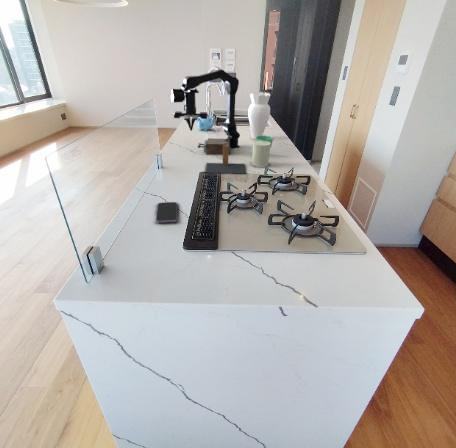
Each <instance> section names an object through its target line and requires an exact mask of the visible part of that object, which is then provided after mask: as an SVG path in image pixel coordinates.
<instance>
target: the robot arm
mask: <svg viewBox="0 0 456 448" xmlns="http://www.w3.org/2000/svg"><path fill="white" fill-rule="evenodd" d="M218 79H219V80H220V81H222V82H223V83H224V84H225V90H226V93H227V101H226V120H225V121H223V122H222V123H223V125H222V126H223V127H222V129H223V131H224V133H225V134H226V136H227V138H226V139H230V149H235V148H240V145H239V139H240V137H241V134H240V132H239V131H237V130H238V129H237V122H236V120H235V118H236V117H235V115H236V95H237V92H238V90H239V86H240V79H238V78H237V77H235V76H233V75H231V74H229V73H228V72H226V71H225V70H224V69H220V68H219V69H217V70H213V71H210V72H207V73H204V74H203V73H202V74H200V75H199V74H198V75H187V76H185V77H183V81H182V84H181V85H180V88H171V91H170V92H171V93H170V101H171V103H172V104H173V103H183V102H184V104H183V111H184V112H182V111H181V110H179V111H174V113H173V119H180V118H182V117H183V120H184V121H186V123H187V125H188V128H189V130H190V131H191V132H192V131H193V129H194V124H195V122H196V121H197V119H198V118H200V119H207V117H208V112H207V111H200V112H199V113H197V107H196V106H197V105H196V94H199V93H200V91H199V90H198V89H197V87H199V86H201V84H204V83H208V82H211V81H215V80H218Z"/></svg>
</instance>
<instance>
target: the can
mask: <svg viewBox="0 0 456 448" xmlns="http://www.w3.org/2000/svg"><path fill="white" fill-rule="evenodd" d="M270 145H271V143H270V142H267V141H256V140H253V142H252V155H251V163H250V164H251V165H252V166H253V167H257V168H266V167H268V166H269V165H270V163H269V161H270V152H271V148H270ZM271 146H272V145H271Z"/></svg>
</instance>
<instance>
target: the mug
mask: <svg viewBox="0 0 456 448" xmlns="http://www.w3.org/2000/svg"><path fill="white" fill-rule="evenodd" d="M255 141H267V142H270V143H271V145H270V149H271V148H272V145H273V141H274V138H273V137H272V136H268V135H265V134H263V136H258V137H256V140H255Z"/></svg>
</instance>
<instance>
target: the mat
mask: <svg viewBox="0 0 456 448" xmlns="http://www.w3.org/2000/svg"><path fill="white" fill-rule="evenodd" d="M205 174H223V175H224V174H225V175H227V174H228V175H229V174H231V175H237V174H238V175H247V174H246V166H245V163H228V165H223V162H207V163H206V168H205Z"/></svg>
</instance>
